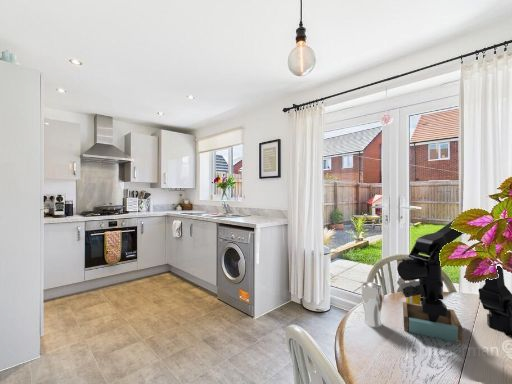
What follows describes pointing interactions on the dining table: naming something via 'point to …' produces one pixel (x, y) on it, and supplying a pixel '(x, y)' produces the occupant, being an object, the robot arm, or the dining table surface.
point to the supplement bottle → (414, 299)
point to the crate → (416, 312)
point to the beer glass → (372, 303)
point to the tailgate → (433, 329)
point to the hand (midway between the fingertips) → (432, 324)
